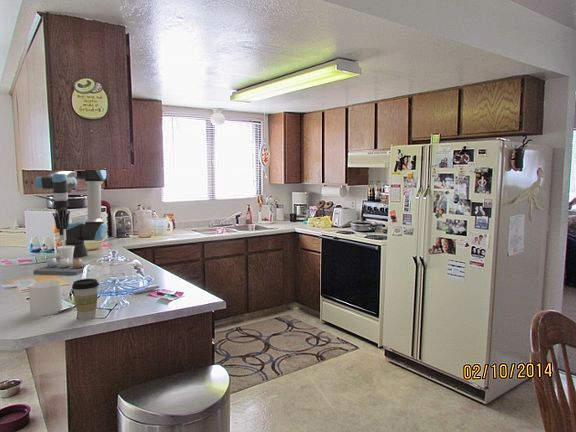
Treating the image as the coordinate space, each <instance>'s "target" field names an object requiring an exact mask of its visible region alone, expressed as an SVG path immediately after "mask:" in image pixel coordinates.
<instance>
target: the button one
mask: <svg viewBox="0 0 576 432" xmlns="http://www.w3.org/2000/svg"><path fill="white" fill-rule="evenodd" d="M56 264H57V257H48V258H46V266H47V267H55V266H57V265H56Z"/></svg>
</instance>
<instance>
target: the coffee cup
mask: <svg viewBox="0 0 576 432" xmlns="http://www.w3.org/2000/svg"><path fill="white" fill-rule="evenodd" d="M99 285H100V283H99V282H98V279H96V278H82V279H77V280H75V281H73V283H72V285H71V289H73V297H74V302H75V308H76V311H77V317H78V319H80V321H89V320H93V319H94V317H95V316H97V315H96V314H97V305H98V294H99V292H98V287H99ZM92 318H93V319H92ZM95 318H96V317H95ZM88 319H89V320H88Z"/></svg>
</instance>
